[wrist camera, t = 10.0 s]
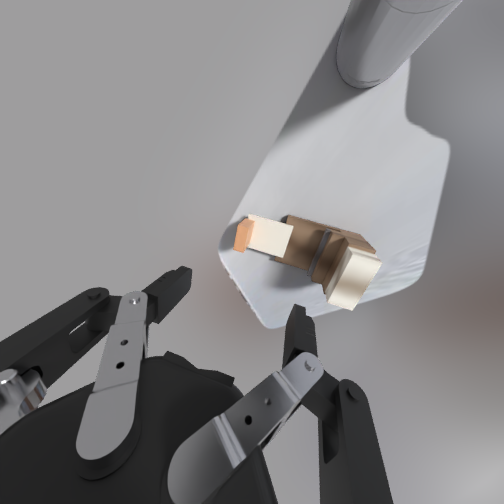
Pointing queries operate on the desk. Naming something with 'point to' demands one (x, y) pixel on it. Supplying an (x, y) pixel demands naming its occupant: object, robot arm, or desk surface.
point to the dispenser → (332, 260)
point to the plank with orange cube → (262, 235)
